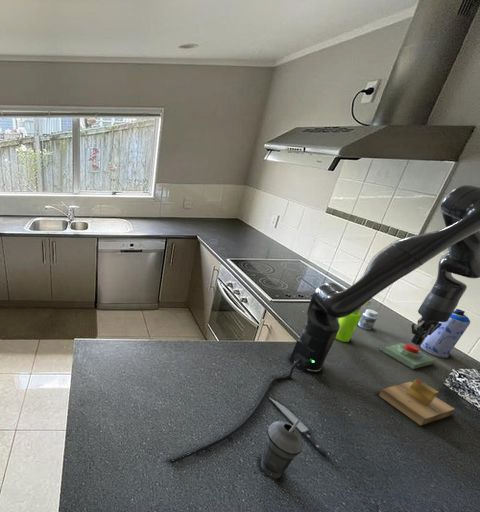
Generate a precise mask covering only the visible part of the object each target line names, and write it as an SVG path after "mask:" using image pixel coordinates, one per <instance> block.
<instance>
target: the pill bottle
mask: <svg viewBox="0 0 480 512" xmlns="http://www.w3.org/2000/svg"><path fill="white" fill-rule="evenodd" d="M378 315H379V313H378V312H377V311H376V310H373V309H370V308H367V309H366V310H365V311H364V312H363V313H362V314H361V318H360V320H359V322H358V324H357V326H358V327H360V328H361V329H364V330H372V328H373V326H374V324H375V322H376V321H377V318H378Z"/></svg>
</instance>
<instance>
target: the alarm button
mask: <svg viewBox="0 0 480 512" xmlns="http://www.w3.org/2000/svg"><path fill="white" fill-rule="evenodd" d="M405 349H406V350H407V351H409V352H412V353H418V351H419V350H420V348H419V347H418V346H417V345H415V344H411V343H406V346H405Z"/></svg>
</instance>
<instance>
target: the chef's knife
mask: <svg viewBox="0 0 480 512" xmlns="http://www.w3.org/2000/svg"><path fill="white" fill-rule="evenodd" d="M269 400H270V401H271V402H272V403H273V404H274V405H275V406H276V407H277V408H278V410H279V411H281V413H282V414H283V415H284V416H285V417H286V418H287V419H288V420H289V421H290V422H291V424H292V425H294V423H295V422H296V421H297V419H298V417H297V416H296V415H295V414H294V413H293V412H291V411H290V410H289V409H288V408H287V407H285V405H282V404H281V403H280V402H278V401H277V400H275V399H273V398H271V397H269ZM295 428H296V429H297V430H298V431H299V433H300V434H301V435H303V436H304V437H305V438H306V439H307V440H308V441H309V442H310V443H311V445H313V447H314V448H316V450H317V451H318V452H319V453H320V454H321V455H322V456H323V457H327V452H326V451H325V450H324V449H323V448H322V447H320V446H319V444H318V443H316V442H315V440H314V439H313V438H312V437H311V436H310V435H309V434H308V431H309V430H310V429H309V428H308V427H307V426H306V425H305V424H304V423H302V421H301V420H300V422H299V423H298V424H297V426H296V427H295Z"/></svg>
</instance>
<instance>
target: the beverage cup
mask: <svg viewBox="0 0 480 512" xmlns="http://www.w3.org/2000/svg"><path fill="white" fill-rule="evenodd" d="M300 421H301V419H300V418H297V421H296V422H295V423H294V424H292V423H290V422H287V421H286V420H285V421H284V420H278V421H277V420H276V421H274V422H272V423H271V424H270V425H269V426H268V427H267V430H266V440H265V444H264V448H263V452H262V455H261V460H260V467H261V469H262V471H263V472H264V473H265V474H266V475H267V476H269V477H270V478H272V479H279V478H280V477H281V476H282V475H283V474H284V472H285V471H286V470H287V468H288V467H289V466H290V465H291V464H292V462H293V460H294V459H295V458H296V457H297V456H298V455H299V454H301V453H302V450H303V445H304V443H303V438H302V434H301V432H300V430H299V429H298V428H297V427H296V426H297V424H298V423H299V422H300ZM271 474H272V475H271Z"/></svg>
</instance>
